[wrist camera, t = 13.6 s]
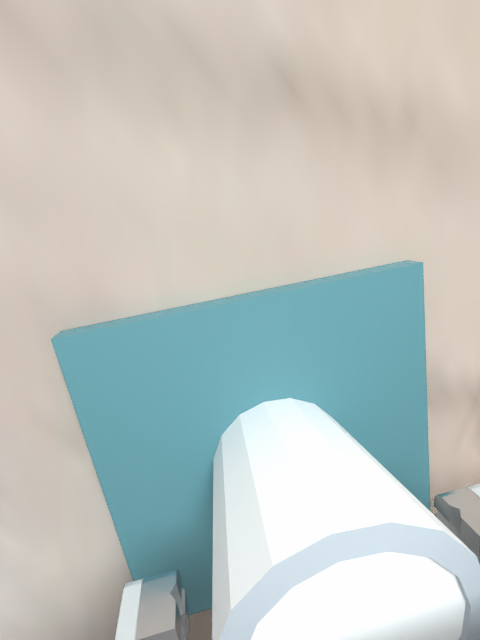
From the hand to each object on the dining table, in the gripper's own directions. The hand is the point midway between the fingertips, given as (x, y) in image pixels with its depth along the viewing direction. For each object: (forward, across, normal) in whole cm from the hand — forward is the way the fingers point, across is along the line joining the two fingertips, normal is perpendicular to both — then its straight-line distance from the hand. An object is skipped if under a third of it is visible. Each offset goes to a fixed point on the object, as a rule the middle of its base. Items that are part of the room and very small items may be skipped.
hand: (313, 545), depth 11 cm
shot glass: (+4, 0, 0) cm, 5 cm away
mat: (+5, 0, 0) cm, 5 cm away
